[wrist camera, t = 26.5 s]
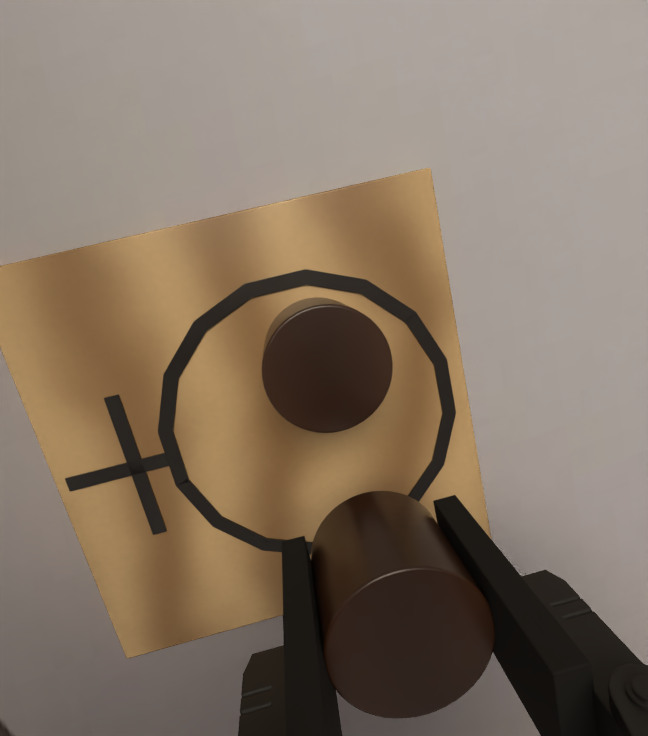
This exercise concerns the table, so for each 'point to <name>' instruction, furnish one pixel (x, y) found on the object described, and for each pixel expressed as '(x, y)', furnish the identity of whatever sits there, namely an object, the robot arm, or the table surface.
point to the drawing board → (232, 396)
